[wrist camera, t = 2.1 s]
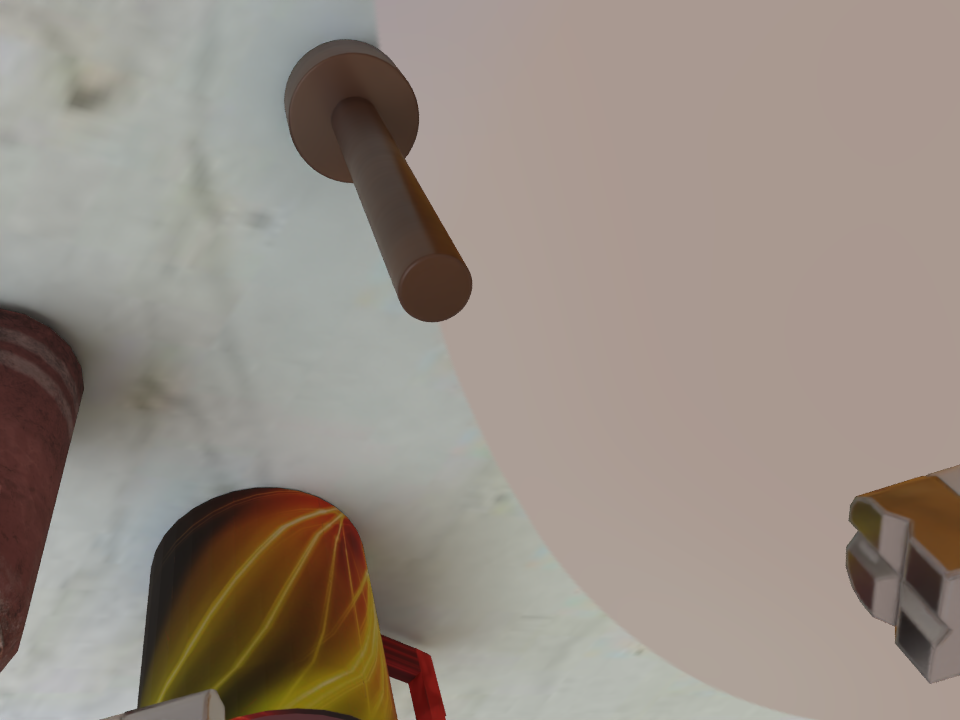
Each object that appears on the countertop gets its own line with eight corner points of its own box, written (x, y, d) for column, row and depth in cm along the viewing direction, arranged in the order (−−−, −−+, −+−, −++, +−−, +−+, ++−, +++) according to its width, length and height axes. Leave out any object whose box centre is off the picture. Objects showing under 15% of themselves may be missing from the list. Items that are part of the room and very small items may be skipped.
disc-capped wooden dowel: (269, 53, 31) (307, 216, 17) (394, 27, 31) (523, 166, 18) (301, 174, 33) (356, 401, 20) (417, 148, 34) (547, 352, 20)
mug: (422, 649, 47) (477, 871, 37) (140, 647, 42) (114, 900, 32) (469, 501, 43) (546, 705, 33) (163, 479, 38) (141, 709, 28)
